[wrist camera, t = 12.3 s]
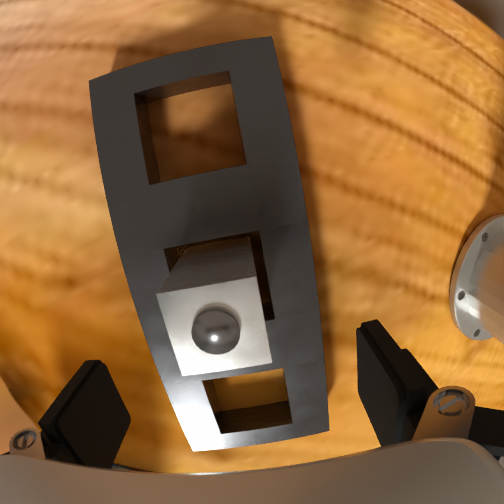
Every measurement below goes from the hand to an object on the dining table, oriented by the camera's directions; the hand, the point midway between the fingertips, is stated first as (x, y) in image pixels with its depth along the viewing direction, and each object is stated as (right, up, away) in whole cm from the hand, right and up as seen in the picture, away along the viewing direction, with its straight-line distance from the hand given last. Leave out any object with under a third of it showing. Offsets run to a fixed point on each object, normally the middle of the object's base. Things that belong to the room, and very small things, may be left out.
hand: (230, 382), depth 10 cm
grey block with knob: (-1, +3, +13) cm, 13 cm away
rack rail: (-1, +3, +12) cm, 13 cm away
